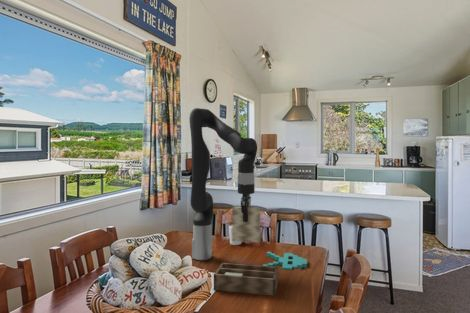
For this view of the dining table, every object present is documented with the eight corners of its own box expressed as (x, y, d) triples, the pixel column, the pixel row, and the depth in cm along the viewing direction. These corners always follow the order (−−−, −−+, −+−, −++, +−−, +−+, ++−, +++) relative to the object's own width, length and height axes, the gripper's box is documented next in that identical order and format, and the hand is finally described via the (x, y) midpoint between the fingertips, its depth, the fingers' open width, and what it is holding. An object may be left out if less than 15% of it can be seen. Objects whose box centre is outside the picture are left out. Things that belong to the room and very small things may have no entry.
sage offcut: (223, 288, 130) (223, 276, 130) (225, 284, 134) (225, 272, 134) (240, 290, 128) (240, 277, 128) (242, 285, 132) (242, 273, 132)
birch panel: (232, 240, 148) (232, 207, 148) (233, 238, 151) (233, 206, 150) (258, 242, 146) (259, 208, 145) (259, 240, 149) (259, 207, 148)
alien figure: (262, 270, 152) (307, 274, 148) (262, 265, 151) (307, 269, 147) (267, 255, 171) (306, 258, 167) (267, 251, 171) (306, 254, 167)
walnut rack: (213, 292, 129) (213, 274, 129) (221, 278, 142) (221, 262, 141) (275, 298, 124) (275, 279, 124) (277, 283, 137) (278, 266, 136)
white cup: (238, 246, 185) (237, 228, 185) (226, 244, 190) (226, 226, 189) (245, 242, 192) (245, 225, 192) (233, 240, 196) (233, 224, 196)
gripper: (240, 180, 155) (240, 216, 156) (234, 184, 141) (234, 224, 142) (256, 180, 153) (256, 217, 154) (252, 184, 140) (252, 225, 140)
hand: (246, 220), depth 148 cm, fingers closed on birch panel, 3 cm apart
